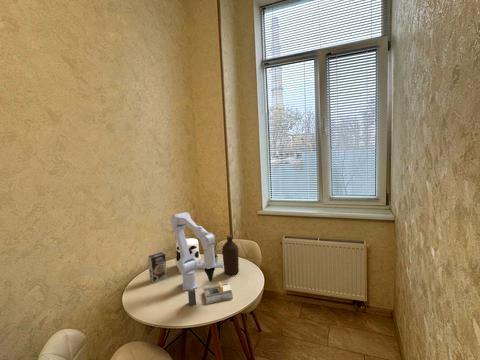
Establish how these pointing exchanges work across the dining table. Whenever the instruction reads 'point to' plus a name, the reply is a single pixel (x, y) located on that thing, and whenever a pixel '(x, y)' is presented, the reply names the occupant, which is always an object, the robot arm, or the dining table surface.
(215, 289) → the socket
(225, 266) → the olive oil
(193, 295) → the plug
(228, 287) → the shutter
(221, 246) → the house plant
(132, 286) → the dining table surface
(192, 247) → the milk container
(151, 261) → the coffee box
